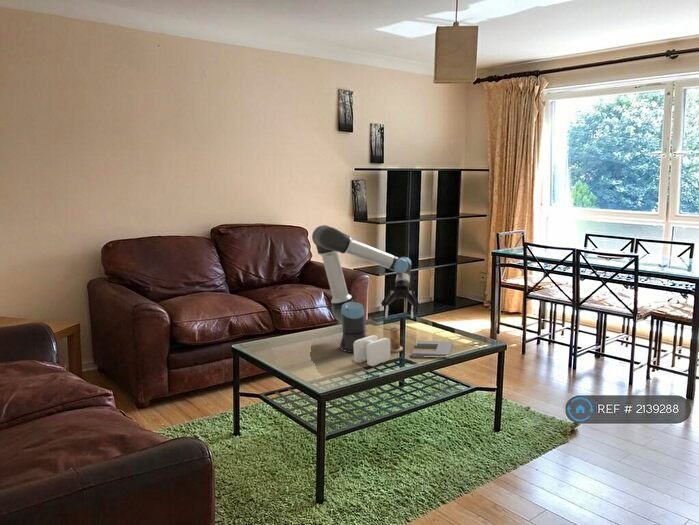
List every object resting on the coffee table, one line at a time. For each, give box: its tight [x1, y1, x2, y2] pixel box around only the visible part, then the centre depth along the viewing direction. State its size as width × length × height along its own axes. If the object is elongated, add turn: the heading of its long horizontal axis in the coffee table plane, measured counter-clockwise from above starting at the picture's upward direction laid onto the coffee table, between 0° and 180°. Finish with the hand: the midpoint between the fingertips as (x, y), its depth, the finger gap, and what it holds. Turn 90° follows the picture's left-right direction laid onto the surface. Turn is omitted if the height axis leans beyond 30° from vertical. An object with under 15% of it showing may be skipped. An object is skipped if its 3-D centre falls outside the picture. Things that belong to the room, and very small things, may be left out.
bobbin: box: [389, 325, 403, 353], centre depth 294 cm, size 7×7×12 cm
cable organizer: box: [353, 334, 391, 367], centre depth 278 cm, size 15×11×12 cm
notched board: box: [411, 340, 454, 358], centre depth 290 cm, size 18×20×2 cm
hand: (398, 317), depth 302 cm, fingers open, 13 cm apart
